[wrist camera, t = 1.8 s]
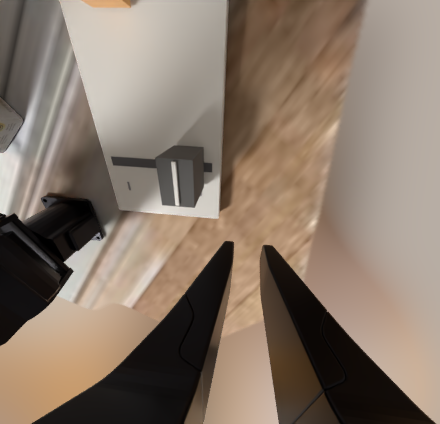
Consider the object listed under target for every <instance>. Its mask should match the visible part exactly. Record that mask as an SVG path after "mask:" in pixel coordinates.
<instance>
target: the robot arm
mask: <svg viewBox="0 0 440 424" xmlns="http://www.w3.org/2000/svg"><path fill="white" fill-rule="evenodd" d="M41 200H42V202H43V204H44V206H45V208H46V209H44V210H42V211H41V212H39V213H37V214H35V215H33V216H32V217H30V218H28V219H26V220H24V221H22V222H21V221H20V220H19V219H18V216H17V215H16V214H15V213H13V214H10V215H7V216H6V215H5V214H1V213H0V346H1V345H3V344H5V343H6V342H7V341H8V340H9V339H10V338H11V337H12V336H13V335H14V334H15V333H16V332H17V331H18V330H19V329H20V328H21V327H22V326H23V325H24V324H25V323H26V322H27V321H28V320H30V319H32V318H33V317H35V316H36V315H38V314H39V313H40V312H42V311H43V310H44V309H45V308H46V307H47V306H48V305H49V304H50V303H51V302H52V301H53V300H54V299H55V297H56V296H57V294H58V293H59V292H60V290H61V289H62V287H63V286H64V284H65V283H66V282H67V280H68V279H69V277H70V276H71V274H72V273H73V270H72V269H71V268H69V267H68V266H67V265H66V264H65V263H64V262H65V261H66V260H67V259H68V258H69V257H70V256H71V255H72V254H73V253H75V252H76V251H79V250H80V249H81V248H82V247H83V246H84V245H86V244H87V243H88V242H89V241H90V240H99V241H100V240H102V239H103V234H102V232H101V229H100V226H99V224H98V221H97V218H96V215H95V213H94V210H93V207H92V205H91V202H90V201H89V200H87V199H76V198H65V197H53V196H44V197H42V198H41ZM233 255H234V242H232V241H225V242H224V243H223V244H222V246H221V247H220V248H219V249H218V251H217V252H216V253H215V255H214V256H213V257H212V259H211V260H210V261H209V262H208V264H207V265H206V266H205V268H204V269H203V270H202V271H201V273H200V274H199V275H198V277H197V278H196V279H195V281H194V282H193V283H192V284H191V286H190V287H189V288H188V290H187V291H186V292H185V294H184V295H183V296H182V297H181V299H180V300H179V301H178V302H177V304H176V305H175V306H174V307H173V308H172V310H171V311H170V312H169V313H168V314H167V316H166V317H165V318H164V319H163V320H162V321H161V322H160V323H159V324H158V325H157V326H156V328H155V329H154V330H153V331H152V332H151V333H150V334H149V335H148V336H147V337H146V338H145V339H144V340H143V341H142V342H141V343H140V344H139V345H138V346H137V347H136V348H135V349H134V350H133V351H132V352H131V353H130V354H129V355H128V356H127V357H126V359H124V361H123V362H121V364H120V365H119V366H117V367H116V368H115V369H114V370H113V371H112V372H111V373H110V374H108V375H107V376H106V377H105V378H103V379H102V380H101V381H99V382H98V383H96V384H95V385H93V386H92V387H90V388H88V389H87V390H86V391H84V392H82V393H80V394H79V395H77V396H75V397H74V398H72V399H71V400H69V401H67V402H66V403H64V404H63V405H61V406H59V407H58V408H56V409H54V410H53V411H51V412H49V413H48V414H46V415H45V416H43V417H41V418H40V419H38V420H37V421H35V422H33V423H32V424H203V422H204V418H205V412H206V408H207V403H208V398H209V393H210V388H211V383H212V378H213V373H214V368H215V363H216V358H217V353H218V348H219V343H220V338H221V333H222V328H223V323H224V319H225V314H226V309H227V304H228V299H229V293H230V285H231V276H232V266H233ZM260 292H261V302H262V309H263V316H264V323H265V330H266V337H267V343H268V351H269V357H270V364H271V371H272V379H273V385H274V392H275V400H276V406H277V413H278V420H279V424H436V423H435V422H434V421H432V420H431V419H430V418H429V417H428V416H427V415H426V414H425V413H424V412H423V411H422V410H420V408H418V406H417V405H416V404H414V402H413V401H411V399H410V398H409V397H408V396H407V395H406V394H405V393H404V392H403V391H402V390H401V389H400V388H399V387H398V386H397V385H396V384H395V383H394V382H393V381H392V380H391V379H390V378H389V377H388V376H387V375H386V374H385V373H384V372H383V371H382V370H381V369H380V368H379V367H378V366H377V365H376V364H375V363H374V361H373V360H372V359H371V358H370V357H369V356H368V355H367V354H366V353H365V352H364V351H363V350H362V349H361V348H360V347H359V346H358V345H357V344H356V343H355V342H354V340H353V339H352V338H351V337H350V336H349V335H348V334H347V333H346V332H345V330H344V329H343V328H342V327H341V326H340V325H339V324H338V323H337V322H336V320H335V319H334V318H333V317H332V315H331V314H330V313H329V312H327V310H326V309H325V307H324V306H323V305H322V304H321V302H320V301H319V300H318V299H317V298H316V297H315V295H314V294H313V293H312V292H311V291H310V289H309V288H308V287H307V286H306V285H305V284H304V282H303V281H302V280H301V279H300V278H299V276H298V275H297V274H296V273H295V272H294V270H293V269H292V268H291V267H290V266H289V265H288V263H287V262H286V261H285V260H284V259H283V257H282V256H281V255H280V254H279V253H278V251H277V250H276V249H275V248H274V247H273V246H271V245H263V247H262V251H261V256H260Z"/></svg>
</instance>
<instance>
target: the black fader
mask: <svg viewBox="0 0 440 424" xmlns="http://www.w3.org/2000/svg"><path fill="white" fill-rule="evenodd" d="M155 160H156V167H157V174H158V181H159V188H160V195H161V202H162V205H166V206H178V207H189V208H195V206H196V204H197V201H198V199H199V197H200V195H201V193H202V190H203V188H204V147H195V146H179V145H174V146H172V147H171V148H169V149H168V150H166V151H164V152H163V153H161V154H160V155H158V156H157V157H155Z"/></svg>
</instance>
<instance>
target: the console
mask: <svg viewBox="0 0 440 424" xmlns="http://www.w3.org/2000/svg"><path fill="white" fill-rule="evenodd" d="M59 1H60V4H61V8H62V11H63V15H64V18H65V22H66V25H67V29H68V32H69V36H70V39H71V43H72V46H73V50H74V53H75V57H76V60H77V64H78V67H79V71H80V74H81V78H82V81H83V85H84V88H85V92H86V95H87V99H88V102H89V106H90V109H91V113H92V116H93V120H94V123H95V127H96V130H97V134H98V137H99V141H100V144H101V148H102V151H103V155H104V158H105V162H106V165H107V169H108V172H109V176H110V179H111V182H112V186H113V189H114V193H115V196H116V200H117V203H118V207H119V210H125V211H136V212H147V213H158V214H169V215H181V216H192V217H203V218H214V219H218V218H219V213H220V196H221V173H222V149H223V126H224V103H225V79H226V56H227V33H228V9H229V0H130V4H131V8H93V7H91V6H90V5H88V4H86V3H85V2H83V1H82V0H59ZM174 145H179V146H195V147H204V188H203V190H202V193H201V195H200V197H199V199H198V201H197V204H196V206H195V208H189V207H178V206H166V205H162V202H161V195H160V188H159V181H158V174H157V167H156V160H155V157H157V156H158V155H160V154H161V153H163V152H164V151H166V150H168V149H169V148H171V147H172V146H174Z"/></svg>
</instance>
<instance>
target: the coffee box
mask: <svg viewBox="0 0 440 424" xmlns="http://www.w3.org/2000/svg"><path fill="white" fill-rule="evenodd" d="M22 123H23V119H22V117H21V116H20V115H18V114H17V113H16V112H15V111H14V110H13V109H12V108H11V107H10V106H9V105H8V104H7V103H6V102H5V101H4V100H3V99H2V98H1V97H0V153H3V152H4V151H5V150H6V148H7V147H8V145H9V144H10V142H11V141H12V139H13V137H14V136H15V134H16V133H17V131H18V129H19V128H20V126H21V125H22Z"/></svg>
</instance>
